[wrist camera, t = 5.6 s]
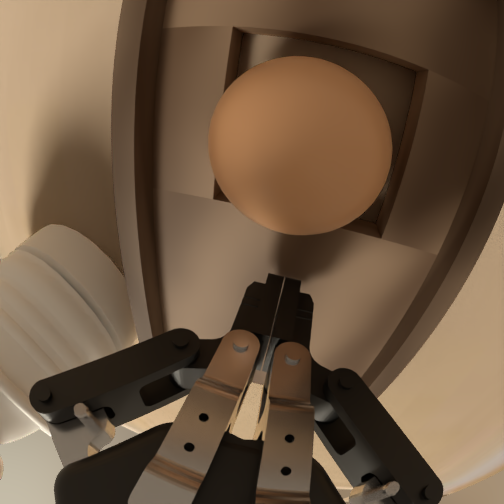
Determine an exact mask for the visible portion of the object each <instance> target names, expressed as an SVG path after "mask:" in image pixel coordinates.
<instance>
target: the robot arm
mask: <svg viewBox="0 0 504 504" xmlns="http://www.w3.org/2000/svg"><path fill="white" fill-rule="evenodd" d="M283 280H284V276H280V275H275V274H271V273H268V276H267V280H266V283H265V284H264V283H260V282H256V281H254V282H253V283H252V284H250V285H249V286H248V287H247V289H246V291H245V294H244V297H243V299H242V302H241V304H240V307H239V310H238V312H237V315H236V317H235V320H234V323H233V325H232V328H231V330H230V331H229V332H228V333H227V334H226V335H225V336H223V337H221V338H217V339H199V337H198V336H197V334H196V333H194V332H193V331H191V330H189V329H185V328H176V329H173V330H170V331H168V332H165V333H163V334H160V335H158V336H155V337H153V338H151V339H148V340H146V341H143V342H141V343H138V344H136V345H133V346H131V347H128V348H126V349H123V350H120V351H118V352H115V353H113V354H110V355H108V356H105V357H102V358H100V359H97V360H94V361H92V362H89V363H86V364H84V365H81V366H78V367H76V368H73V369H70V370H67V371H65V372H62V373H59V374H56V375H53V376H50V377H48V378H45V379H42V380H39V381H37V382H36V383H35V384H34V385H33V386H32V388H31V390H30V393H29V400H30V403H31V406H32V407H33V408H34V409H35V410H36V411H37V412H38V413H39V414H40V415H41V416H42V418H43V419H44V420H45V421H46V422H47V425H48V428H49V431H50V433H51V436H52V439H53V442H54V444H55V447H56V450H57V452H58V455H59V457H60V459H61V462H62V464H63V466H64V468H63V469H62V470H61V471H60V472H59V474H58V476H57V478H56V480H55V486H54V492H55V493H54V494H55V502H56V504H346V503H345V502H344V500H343V498H342V497H341V495H340V494H339V492H338V491H337V489H336V487H335V486H334V484H333V483H332V481H331V479H330V478H329V476H328V475H327V473H326V471H325V470H324V468H323V467H322V466H321V465H320V463H318V462H317V461H316V460H315V459H314V458H313V457H312V455H313V439H314V431H315V432H316V434H317V435H318V437H319V438H320V440H321V441H322V443H323V444H324V446H325V447H326V449H327V450H328V452H329V453H330V455H331V456H332V458H333V459H334V461H335V462H336V464H337V465H338V466H339V468H340V469H341V471H342V472H343V474H344V475H345V477H346V478H347V479H348V481H349V482H350V484H351V485H352V486H353V489H352V491H351V493H350V496H349V503H350V504H438V503H439V502H440V500H441V498H442V495H443V485H442V482H441V481H440V479H439V478H438V477H437V475H436V474H435V473H434V471H433V470H432V469H431V468H430V466H429V465H428V464H427V462H426V461H425V460H424V458H423V457H422V456H421V455H420V453H419V452H418V451H417V449H416V448H415V447H414V445H413V444H412V443H411V442H410V440H409V439H408V438H407V436H406V435H405V434H404V433H403V431H402V430H401V429H400V427H399V426H398V425H397V424H396V422H395V421H394V420H393V418H392V417H391V416H390V415H389V413H388V412H387V411H386V409H385V408H384V407H383V406H382V404H381V403H380V402H379V400H378V399H377V398H376V397H375V395H374V394H373V393H372V391H371V390H370V389H369V388H368V386H367V385H366V384H365V382H364V381H363V380H362V379H361V377H360V376H359V375H358V374H357V373H356V372H354V371H353V370H351V369H348V368H338V369H335V370H334V371H331V370H329V369H327V368H325V367H323V366H321V365H320V364H318V363H317V362H316V361H315V360H314V359H313V357H312V356H311V353H310V339H311V329H312V319H313V309H314V302H313V300H312V298H311V295H310V294H306V293H302V292H300V287H301V280H297V279H292V278H288V277H285V281H284V285H283ZM282 285H283V289H282ZM281 289H282V293H281ZM280 294H281V296H280ZM279 298H280V300H279ZM278 302H279V304H278ZM277 306H278V308H277ZM276 311H277V312H276ZM275 315H276V316H275ZM274 319H275V320H274ZM273 323H274V324H273ZM271 332H272V333H271ZM270 336H271V337H270ZM269 339H270V341H269ZM268 343H269V345H268ZM267 346H268V349H267ZM266 350H267V353H266ZM265 353H266V357H265ZM264 357H265V361H264V365H263V369H262V371H264V372H267V374H266V378H265V382H264V385H263V388H262V393H261V399H260V406H259V412H258V418H257V424H256V428H255V432H254V436H253V440H244V439H241V438H239V437H237V436H235V435H233V434H231V433H232V430H233V427H234V424H235V421H236V419H237V416H238V414H239V411H240V409H241V406H242V404H243V401H244V399H245V396H246V394H247V391H248V389H249V386H250V384H251V382H252V381H253V378H254V374H255V371H256V370H259V371H260V370H261V367H262V363H263V360H264ZM188 394H189V395H188ZM186 395H188V396H187V398H186V400H185V402H184V404H183V406H182V408H181V409H180V411H179V413H178V415H177V417H176V419H175V421H174V422H171V423H165V424H161V425H158V426H155V427H153V428H151V429H149V430H147V431H145V432H143V433H141V434H138V435H136V436H134V437H132V438H130V439H128V440H126V441H123V442H121V443H119V444H117V445H115V446H112V447H110V448H108V449H105V450H103V451H101V452H100V450H101V449H102V448H103V447H104V446H105V445H107V444H109V443H110V442H111V441H112V440H113V438H114V436H115V427H117V426H119V425H122V424H124V423H127V422H129V421H132V420H134V419H136V418H139V417H141V416H143V415H145V414H148V413H150V412H152V411H154V410H156V409H159V408H161V407H163V406H165V405H167V404H169V403H171V402H174V401H176V400H178V399H180V398H182V397H184V396H186Z"/></svg>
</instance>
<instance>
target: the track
mask: <svg viewBox="0 0 504 504" xmlns="http://www.w3.org/2000/svg"><path fill="white" fill-rule="evenodd" d="M243 33H249V34H261V35H271V36H280V37H287V38H294V39H301V40H306V41H312V42H317V43H322V44H327V45H332V46H336V47H340V48H345V49H349V50H352V51H356V52H360V53H363V54H367V55H370V56H374V57H377V58H380V59H383V60H386V61H389V62H392V63H395V64H398V65H400V66H403V67H406V68H409V69H411V70H414V71H416V72H417V73H416V79H415V84H414V89H413V94H412V99H411V104H410V108H409V113H408V117H407V122H406V126H405V130H404V134H403V138H402V142H401V145H400V149H399V153H398V156H397V160H396V163H395V167H394V170H393V173H392V177H391V180H390V183H389V186H388V190H387V193H386V196H385V199H384V202H383V205H382V208H381V211H380V214H379V216H378V219H377V222H376V224H375V223H372V222H368V221H364V220H361V219H357V218H356V219H355V220H353V221H352V222H350V223H349V224H347V225H345V226H343V227H340V228H338V229H335V230H333V231H330V232H326V233H321V234H314V235H290V234H284V233H280V232H276V231H273V230H270V229H268V228H265V227H263V226H261V225H259V224H257V223H255V222H254V221H252V220H250V219H249V218H247V217H246V216H245V215H244V214H242V213H241V212H240V211H239V210H238V209H237V208H235V207H234V205H233V204H232V203H231V202H230V201H229V200H228V198H227V197H226V196H225V194H224V193H223V192H222V190H221V188H220V186H219V185H218V183H217V181H216V178H215V176H214V174H213V171H212V167H211V163H210V159H209V153H208V134H209V127H210V122H211V118H212V116H213V113H214V110H215V108H216V106H217V103H218V102H219V100H220V98H221V97H222V95H223V94H224V92H225V91H226V89H227V88H228V87H229V86H230V85H231V84H232V83H233V82H234V81H235V80H236V76H237V69H238V62H239V55H240V48H241V42H242V35H243ZM111 142H112V170H113V186H114V199H115V210H116V219H117V228H118V236H119V243H120V250H121V257H122V263H123V269H124V275H125V281H126V286H127V291H128V296H129V301H130V306H131V311H132V315H133V320H134V324H135V328H136V332H137V336H138V340H139V343H141V342H143V341H146V340H148V339H151V338H153V337H155V336H158V335H160V334H163V333H165V332H168V331H170V330H173V329H176V328H185V329H189V330H191V331H193V332H194V333H196V334H197V336H198V337H199V339H217V338H221V337H223V336H225V335H226V334H227V333H228V332H229V331H230V330H231V328H232V325H233V323H234V320H235V317H236V315H237V312H238V310H239V307H240V304H241V302H242V299H243V297H244V294H245V291H246V289H247V287H248V286H249V285H250V284H252V283H253V282H254V281H256V282H260V283H264V284H265V283H266V280H267V276H268V273H271V274H275V275H280V276H284V280H283V285H284V281H285V277H288V278H292V279H297V280H301V287H300V292H302V293H306V294H310V295H311V298H312V300H313V302H314V309H313V319H312V329H311V339H310V353H311V356H312V357H313V359H314V360H315V361H316V362H317V363H318V364H320V365H321V366H323V367H325V368H327V369H329V370H331V371H334V370H335V369H338V368H348V369H351V370H353V371H354V372H356V373H357V374H358V375H359V376H360V377H361V379H362V380H363V381H364V382H365V384H366V385H367V386H368V388H369V389H370V390H371V391H372V393H373V394H374V395H375V397H376V398H378V397H379V396H380V395H381V394H382V393H383V392H384V391H385V390H386V389H387V387H388V386H389V385H390V384H391V383H392V382H393V381H394V380H395V379H396V377H397V376H398V375H399V374H400V373H401V372H402V370H403V369H404V368H405V367H406V366H407V364H408V363H409V362H410V361H411V360H412V358H413V357H414V356H415V355H416V353H417V352H418V351H419V350H420V348H421V347H422V346H423V344H424V343H425V342H426V340H427V339H428V338H429V336H430V335H431V334H432V332H433V331H434V329H435V328H436V327H437V325H438V324H439V322H440V321H441V319H442V318H443V317H444V315H445V314H446V312H447V311H448V309H449V308H450V306H451V304H452V303H453V301H454V300H455V298H456V297H457V295H458V293H459V292H460V290H461V288H462V287H463V285H464V283H465V282H466V280H467V278H468V276H469V275H470V273H471V271H472V269H473V267H474V266H475V264H476V262H477V260H478V258H479V256H480V254H481V252H482V250H483V248H484V246H485V244H486V242H487V240H488V238H489V236H490V234H491V231H492V229H493V227H494V225H495V222H496V220H497V218H498V215H499V213H500V211H501V208H502V206H503V203H504V0H123V3H122V8H121V14H120V20H119V26H118V33H117V41H116V50H115V60H114V71H113V86H112V114H111ZM283 285H282V289H283ZM282 289H281V293H282ZM280 296H281V294H280ZM279 300H280V298H279ZM278 304H279V302H278ZM277 308H278V306H277ZM276 312H277V311H276ZM275 316H276V315H275ZM274 320H275V319H274ZM273 324H274V323H273ZM271 333H272V332H271ZM270 337H271V336H270ZM269 341H270V339H269ZM268 345H269V343H268ZM267 349H268V346H267ZM266 353H267V350H266ZM266 353H265V357H266ZM265 357H264V360H263V363H262V367H261V370H260V371H259V370H256V371H255V374H254V378H253V381H252V382H254V383H258V384H262V385H264V382H265V378H266V374H267V372H264V371H262V369H263V365H264V361H265Z"/></svg>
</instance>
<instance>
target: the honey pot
mask: <svg viewBox="0 0 504 504" xmlns="http://www.w3.org/2000/svg"><path fill="white" fill-rule="evenodd" d="M137 338H138V336H137V332H136V328H135V324H134V320H133V315H132V311H131V306H130V301H129V296H128V291H127V286H126V281H125V277H124V276H123V275H122V273H121V272H120V271H119V270H118V268H117V267H116V266H115V264H114V263H113V262H112V260H111V259H110V258H109V257H108V256H107V255H106V254H105V253H104V252H103V251H102V250H101V249H100V248H99V247H98V246H97V245H96V244H95V243H93V242H92V241H90V240H89V239H88V238H86V237H85V236H83V235H82V234H81V233H79V232H78V231H76V230H73V229H71V228H69V227H66V226H64V225H55V224H50V225H48V226H45V227H43V228H41V229H40V230H39V231H37V232H36V233H35V234H33V235H32V236H31V237H29V238H28V239H27V240H25V241H24V242H23V243H22V244H20V245H19V246H18V247H17V248H16V249H15V250H14V251H13V252H11V253H10V254H9V255H8V257H6V258H4V259H2V260H1V261H0V445H1V444H6V443H10V442H13V441H16V440H18V439H21V438H23V437H25V436H27V435H29V434H31V433H33V432H35V431H37V430H39V429H41V430H42V431H43V432H45V433H46V434H48V435H49V436H51V433H50V431H49V428H48V425H47V422H46V421H45V420H44V419H43V418H42V416H41V415H40V414H39V413H38V412H37V411H36V410H35V409H34V408H33V407H32V406H31V403H30V400H29V393H30V390H31V388H32V386H33V385H34V384H35V383H36V382H37V381H39V380H42V379H45V378H48V377H50V376H53V375H56V374H59V373H62V372H65V371H67V370H70V369H73V368H76V367H78V366H81V365H84V364H86V363H89V362H92V361H94V360H97V359H100V358H102V357H105V356H108V355H110V354H113V353H115V352H118V351H120V350H123V349H126V348H128V347H131V346H133V345H134V343H135V342H136V340H137ZM51 437H52V436H51ZM2 475H3V461H2V458H1V456H0V480H1V478H2Z"/></svg>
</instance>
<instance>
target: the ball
mask: <svg viewBox="0 0 504 504" xmlns="http://www.w3.org/2000/svg"><path fill="white" fill-rule="evenodd" d="M208 153H209V159H210V163H211V167H212V171H213V174H214V176H215V178H216V181H217V183H218V185H219V186H220V188H221V190H222V192H223V193H224V194H225V196H226V197H227V198H228V200H229V201H230V202H231V203H232V204H233V205H234V207H235V208H237V209H238V210H239V211H240V212H241V213H242V214H244V215H245V216H246V217H247V218H249V219H250V220H252V221H254V222H255V223H257V224H259V225H261V226H263V227H265V228H268V229H270V230H273V231H276V232H280V233H284V234H290V235H314V234H321V233H326V232H330V231H333V230H335V229H338V228H340V227H343V226H345V225H347V224H349V223H350V222H352V221H353V220H355V219H356V218H357V217H359V216H360V215H362V214H363V213H364V212H365V211H366V210H367V209H368V208H369V207H370V206H371V205H372V203H373V202H374V201H375V200H376V198H377V197H378V195H379V194H380V192H381V190H382V188H383V186H384V184H385V182H386V180H387V176H388V173H389V170H390V167H391V159H392V137H391V131H390V127H389V123H388V120H387V117H386V115H385V112H384V110H383V108H382V106H381V104H380V103H379V101H378V100H377V98H376V97H375V95H374V94H373V92H372V91H371V90H370V89H369V88H368V87H367V86H366V85H365V83H364V82H362V81H361V80H360V79H359V78H358V77H356V76H355V75H354V74H352V73H351V72H349V71H348V70H346V69H344V68H343V67H341V66H339V65H336V64H334V63H332V62H329V61H326V60H323V59H319V58H314V57H307V56H288V57H281V58H276V59H272V60H269V61H266V62H264V63H261V64H259V65H256V66H254V67H253V68H251V69H249V70H247V71H246V72H245V73H243V74H242V75H241V76H240V77H238V78H237V79H236V80H235V81H234V82H233V83H232V84H231V85H230V86H229V87H228V88H227V89H226V91H225V92H224V94H223V95H222V97H221V98H220V100H219V102H218V103H217V106H216V108H215V110H214V113H213V116H212V118H211V122H210V127H209V134H208Z"/></svg>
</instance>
